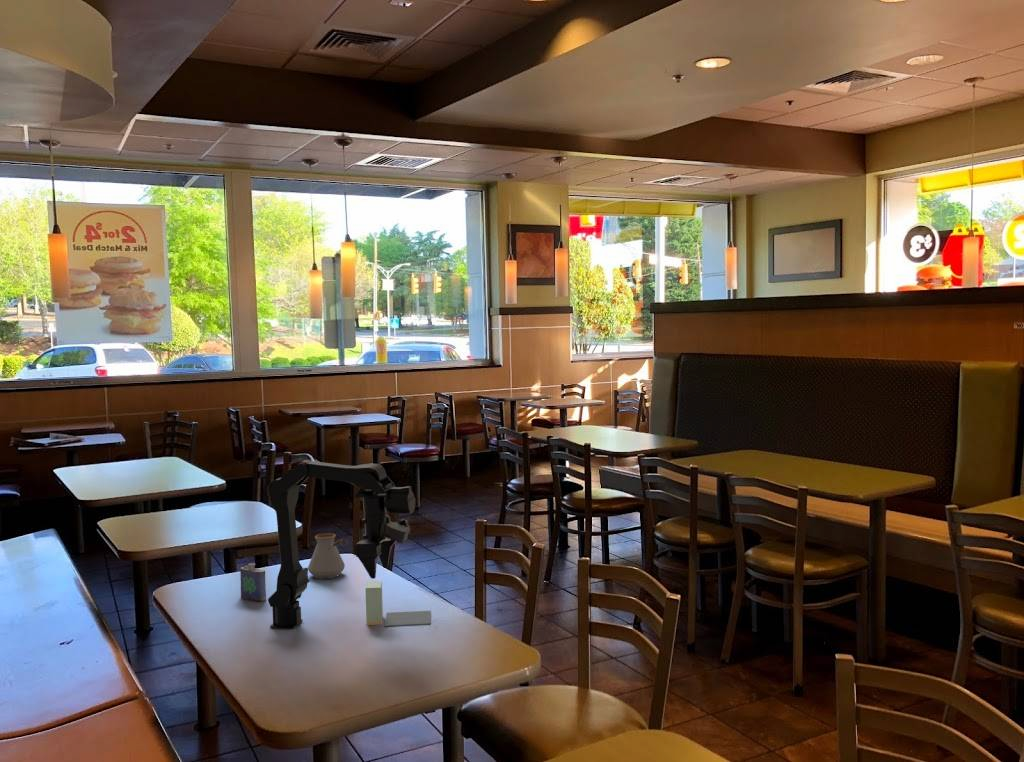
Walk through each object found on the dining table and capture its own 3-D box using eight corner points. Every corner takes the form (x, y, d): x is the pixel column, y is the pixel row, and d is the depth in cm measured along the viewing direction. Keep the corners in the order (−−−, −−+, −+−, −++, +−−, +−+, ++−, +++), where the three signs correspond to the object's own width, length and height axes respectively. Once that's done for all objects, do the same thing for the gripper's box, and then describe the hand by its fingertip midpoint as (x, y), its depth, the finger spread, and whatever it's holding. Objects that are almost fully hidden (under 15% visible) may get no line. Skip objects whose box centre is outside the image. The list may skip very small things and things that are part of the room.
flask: (268, 600, 250) (266, 563, 249) (260, 603, 247) (259, 566, 246) (245, 595, 254) (243, 559, 254) (237, 598, 252) (236, 562, 251)
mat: (384, 626, 227) (384, 625, 226) (386, 613, 236) (386, 612, 236) (430, 624, 228) (430, 623, 228) (430, 611, 238) (430, 610, 238)
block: (366, 625, 228) (365, 588, 227) (368, 617, 234) (367, 581, 233) (381, 624, 228) (380, 587, 228) (382, 616, 234) (381, 580, 234)
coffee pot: (302, 574, 275) (301, 528, 274) (336, 568, 281) (335, 523, 280) (327, 591, 257) (326, 542, 256) (363, 584, 263) (362, 536, 262)
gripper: (392, 522, 211) (397, 584, 212) (416, 505, 229) (420, 562, 230) (350, 522, 213) (354, 584, 214) (376, 505, 231) (380, 562, 232)
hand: (379, 572), depth 222 cm, fingers open, 9 cm apart
